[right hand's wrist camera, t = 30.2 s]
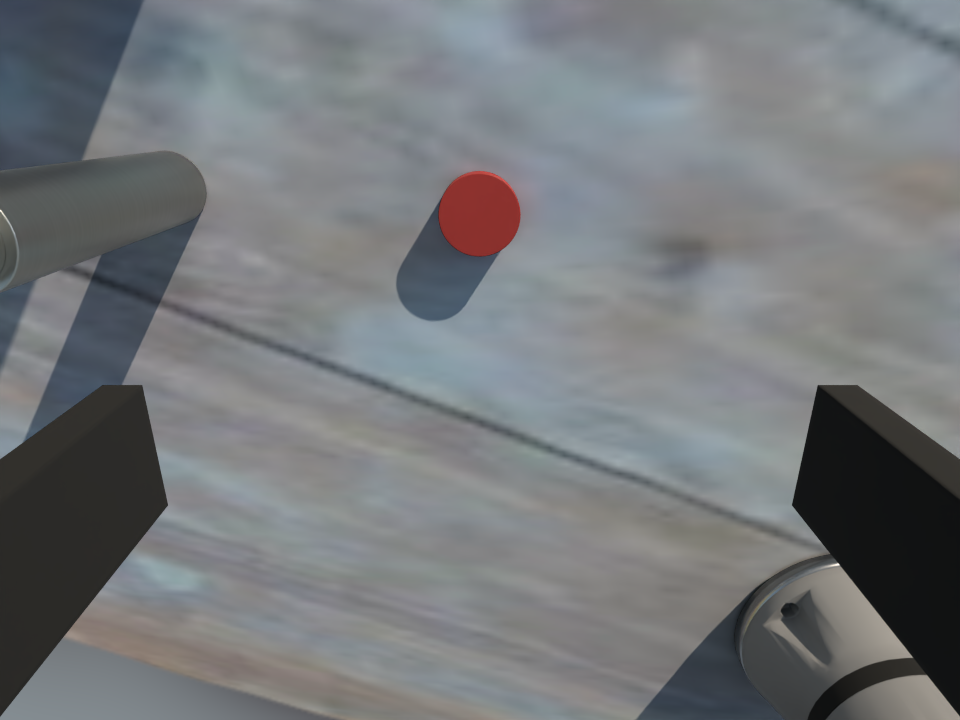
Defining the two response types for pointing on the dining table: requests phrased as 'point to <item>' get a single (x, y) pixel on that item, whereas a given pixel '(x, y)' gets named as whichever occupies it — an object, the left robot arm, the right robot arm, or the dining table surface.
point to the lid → (479, 214)
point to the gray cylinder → (90, 209)
